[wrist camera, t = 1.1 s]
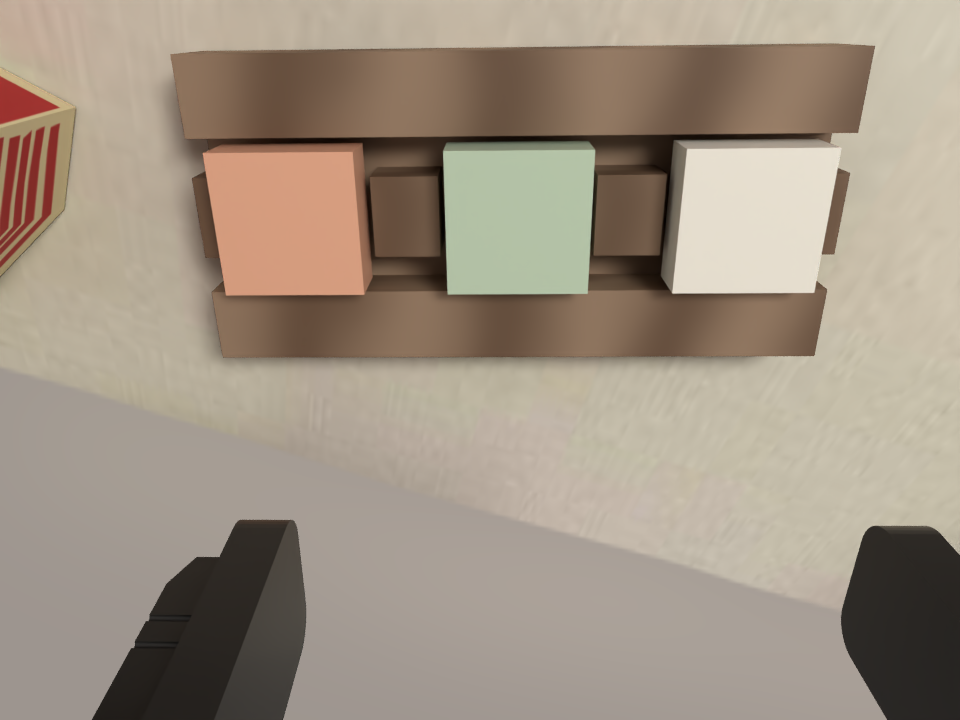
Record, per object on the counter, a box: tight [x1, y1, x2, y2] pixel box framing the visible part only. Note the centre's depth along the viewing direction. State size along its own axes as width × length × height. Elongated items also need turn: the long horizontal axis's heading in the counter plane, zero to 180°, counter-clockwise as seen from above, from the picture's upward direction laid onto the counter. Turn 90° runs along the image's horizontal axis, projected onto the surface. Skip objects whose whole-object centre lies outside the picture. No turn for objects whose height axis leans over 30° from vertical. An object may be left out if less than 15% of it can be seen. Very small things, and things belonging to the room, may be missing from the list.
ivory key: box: [661, 139, 841, 294], centre depth 26 cm, size 5×5×2 cm
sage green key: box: [443, 141, 595, 294], centre depth 26 cm, size 5×5×2 cm
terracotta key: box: [203, 143, 373, 295], centre depth 26 cm, size 5×5×2 cm
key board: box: [170, 44, 875, 357], centre depth 28 cm, size 23×11×3 cm, turn 91°
